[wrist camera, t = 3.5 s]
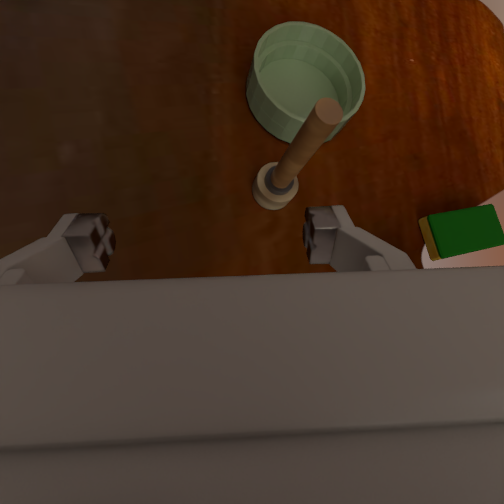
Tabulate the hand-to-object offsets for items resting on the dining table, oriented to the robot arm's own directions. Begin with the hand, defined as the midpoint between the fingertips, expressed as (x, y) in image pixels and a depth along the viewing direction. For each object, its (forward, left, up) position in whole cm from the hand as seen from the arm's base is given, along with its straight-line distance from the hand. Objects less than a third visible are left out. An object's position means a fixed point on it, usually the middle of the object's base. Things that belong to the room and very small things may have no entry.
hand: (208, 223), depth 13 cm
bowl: (-19, +29, -28) cm, 45 cm away
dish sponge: (+13, +43, -29) cm, 53 cm away
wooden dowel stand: (-7, +17, -28) cm, 34 cm away
